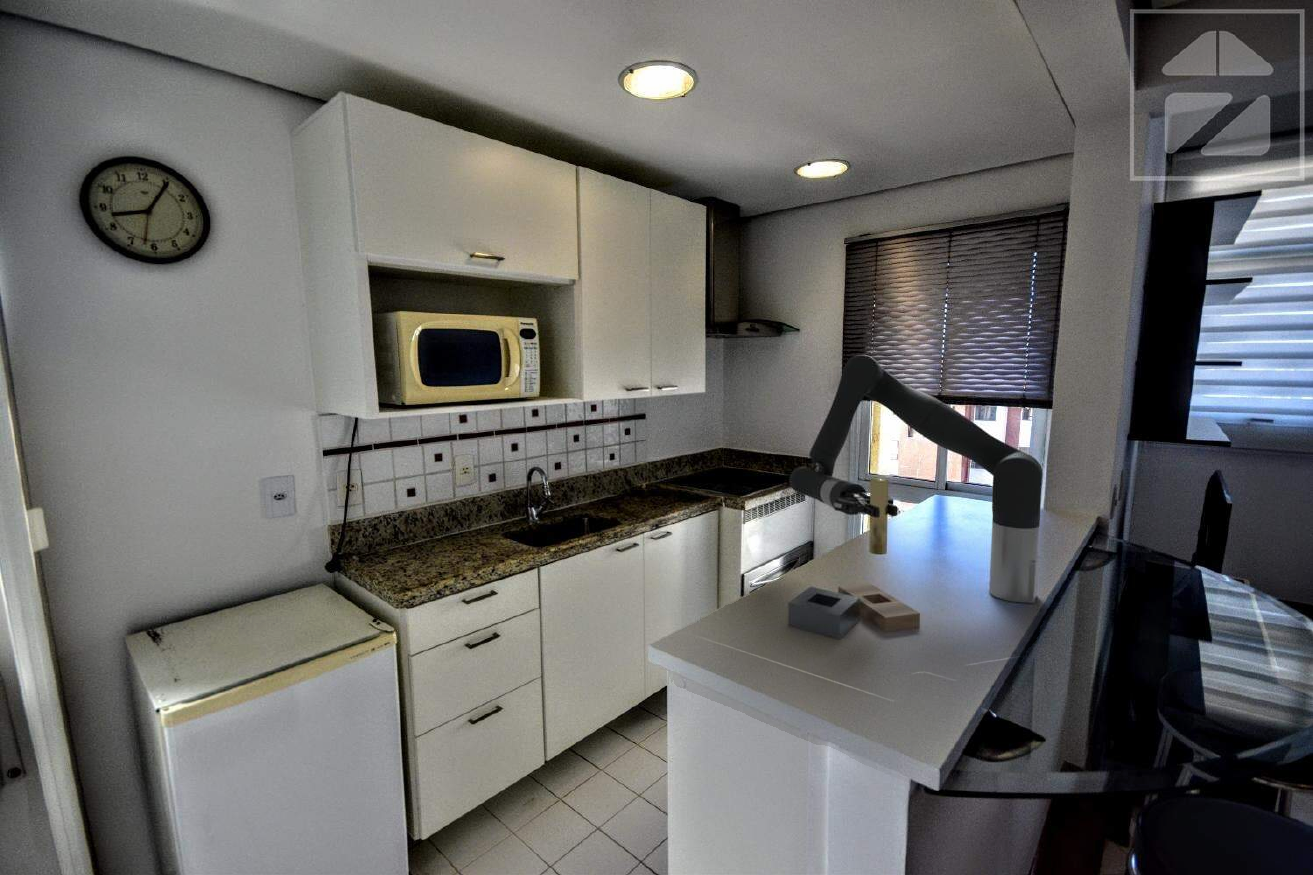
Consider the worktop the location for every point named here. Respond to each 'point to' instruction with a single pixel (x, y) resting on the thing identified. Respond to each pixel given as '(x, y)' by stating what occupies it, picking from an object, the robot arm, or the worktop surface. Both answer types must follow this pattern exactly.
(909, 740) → the worktop surface
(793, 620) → the seat block
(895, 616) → the beam
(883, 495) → the axle
